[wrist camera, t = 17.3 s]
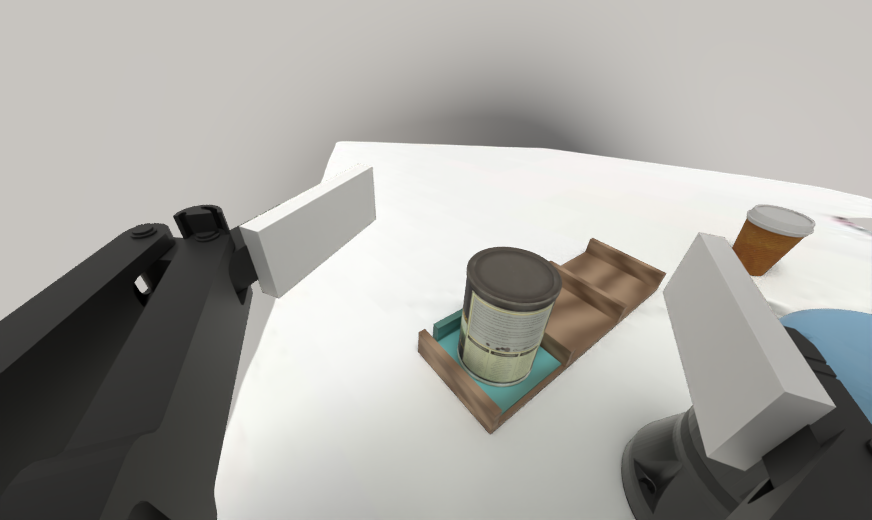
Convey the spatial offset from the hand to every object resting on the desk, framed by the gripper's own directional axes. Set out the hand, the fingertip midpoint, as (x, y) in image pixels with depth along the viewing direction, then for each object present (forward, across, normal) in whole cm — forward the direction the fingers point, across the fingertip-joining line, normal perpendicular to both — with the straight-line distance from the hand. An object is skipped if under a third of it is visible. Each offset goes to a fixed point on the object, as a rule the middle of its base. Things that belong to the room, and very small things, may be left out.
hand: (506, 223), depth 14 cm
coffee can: (+17, 0, -29) cm, 34 cm away
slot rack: (+29, +7, -30) cm, 42 cm away
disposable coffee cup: (+61, +42, -30) cm, 80 cm away
